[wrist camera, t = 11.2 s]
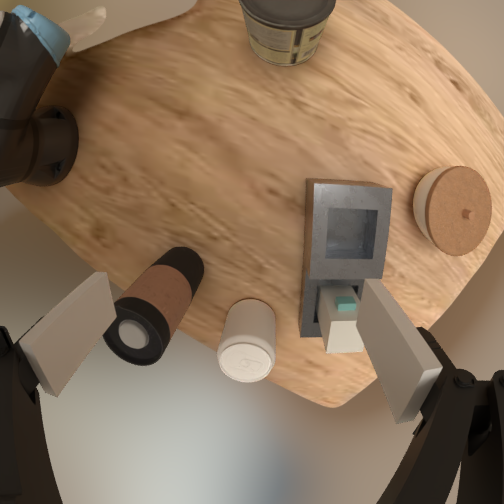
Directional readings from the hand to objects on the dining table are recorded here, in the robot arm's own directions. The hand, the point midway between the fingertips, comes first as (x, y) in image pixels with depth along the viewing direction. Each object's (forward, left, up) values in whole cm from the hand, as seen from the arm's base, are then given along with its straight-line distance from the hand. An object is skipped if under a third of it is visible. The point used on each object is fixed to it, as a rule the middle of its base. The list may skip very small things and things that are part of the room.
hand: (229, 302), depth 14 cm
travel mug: (-12, -10, -29) cm, 33 cm away
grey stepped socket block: (+12, -8, -29) cm, 32 cm away
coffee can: (+4, +26, -29) cm, 39 cm away
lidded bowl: (+28, +2, -29) cm, 41 cm away
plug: (+12, -14, -28) cm, 33 cm away
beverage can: (-1, -19, -29) cm, 35 cm away
